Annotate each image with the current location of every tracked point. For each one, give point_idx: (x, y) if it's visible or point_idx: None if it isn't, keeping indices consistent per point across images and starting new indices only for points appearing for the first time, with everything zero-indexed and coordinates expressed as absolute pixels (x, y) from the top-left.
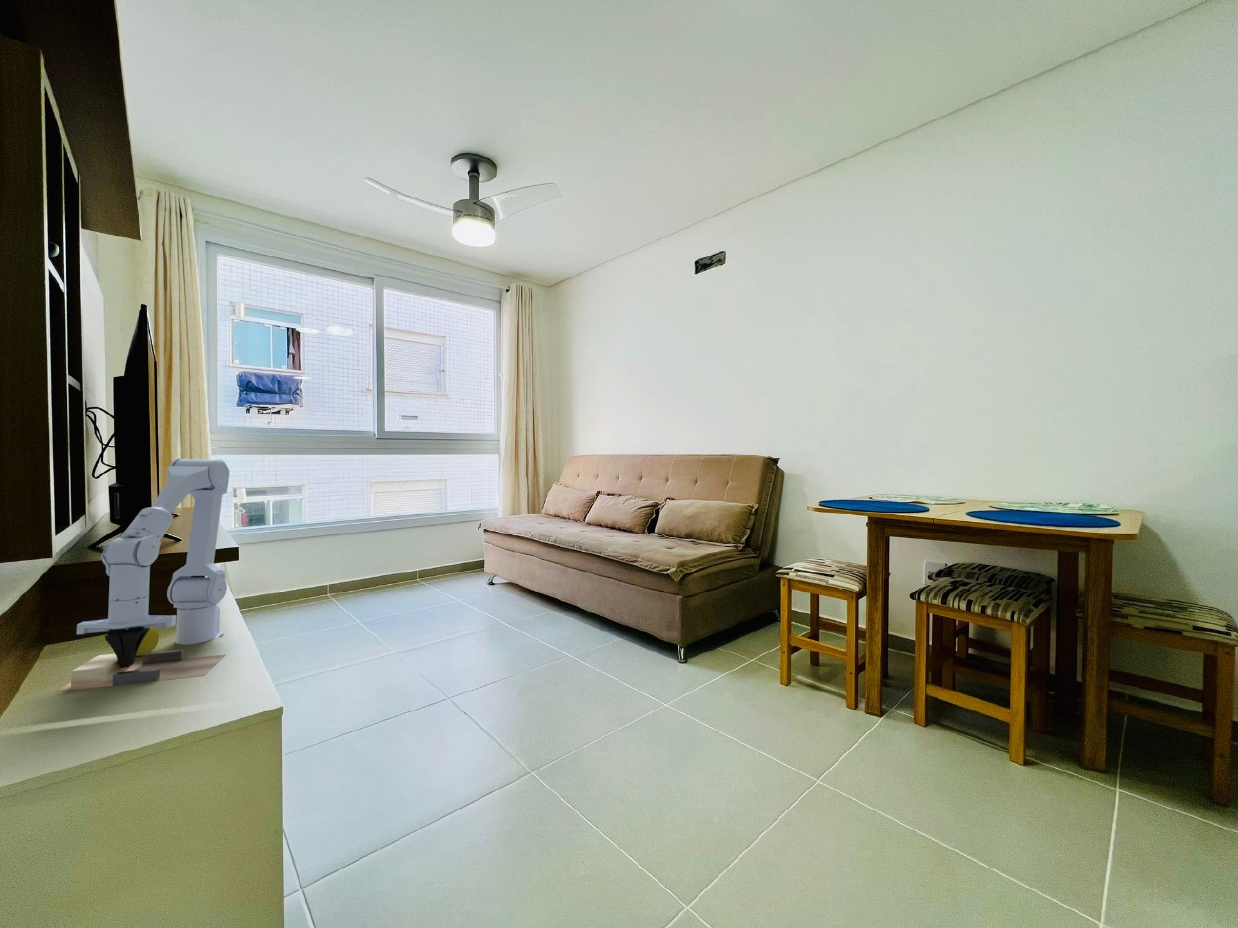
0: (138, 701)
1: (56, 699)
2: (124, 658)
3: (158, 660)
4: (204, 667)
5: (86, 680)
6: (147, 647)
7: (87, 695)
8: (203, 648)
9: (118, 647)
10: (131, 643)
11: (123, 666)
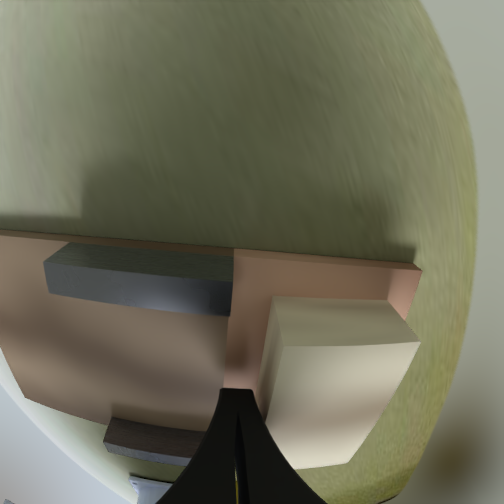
0: (82, 57)
1: (404, 222)
2: (232, 419)
3: (172, 434)
4: (3, 318)
5: (350, 312)
6: (236, 490)
7: (313, 216)
8: (134, 469)
9: (262, 473)
10: (188, 485)
11: (237, 391)
